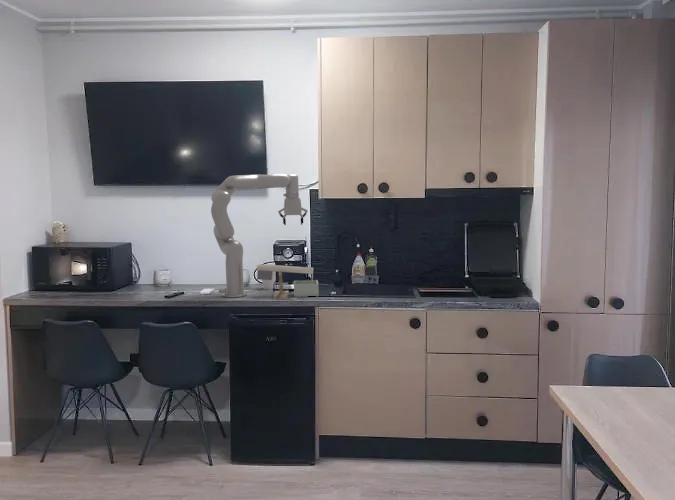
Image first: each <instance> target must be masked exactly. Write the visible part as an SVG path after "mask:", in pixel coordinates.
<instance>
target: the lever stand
mask: <svg viewBox="0 0 675 500" xmlns="http://www.w3.org/2000/svg"><path fill="white" fill-rule="evenodd" d="M283 285H284V284H283V272H282V271H279V272H278V286H279V288H278V289H279V290H274V292H273V299H283V298H284V299H286V298H287V299H288V298H289V290H284V289H283V288H284V287H283Z"/></svg>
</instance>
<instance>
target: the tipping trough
mask: <svg viewBox="0 0 675 500" xmlns="http://www.w3.org/2000/svg"><path fill="white" fill-rule="evenodd" d="M256 271H257V274H256V275H257V277H256V280H261V281H262V280H272V271H276V273H277V272H278V273H279V271H282V273H293V274H296V273H297V274H309V275H311V280H312V281H313V280H314V267H309V266H308V267H307V266H291V265H276V264H262V263H257V265H256Z"/></svg>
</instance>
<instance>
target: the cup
mask: <svg viewBox="0 0 675 500" xmlns="http://www.w3.org/2000/svg"><path fill="white" fill-rule="evenodd" d="M319 286H320V285H319V281H318V279H313V281H312V279H307V280H293V297H294V298H309V297H308V296H316V297H319V296H320V295H319V294H320V291H319V289H320V288H319Z"/></svg>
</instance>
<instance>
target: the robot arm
mask: <svg viewBox="0 0 675 500" xmlns="http://www.w3.org/2000/svg"><path fill="white" fill-rule="evenodd" d="M274 188H276V189H277V188H278V189H280V188H285V193H283V197H285V198H284V202H283V207H282V208H281V209H279V210H278V211H277V213H278V214H279V216H280V217H281V218H282V224H283V225H284V226H286V222H287V221H286V217H287V216H300V225H302V226H303V224H304V218H305V216H307V213H308V209H306V208H304V207H302V200H301V198H300V197H299V195H300V192H299V189H300V188H299V175H298V174H295V173H294V174H285V173H278V174H277V173H276V174H260V173H259V174H258V173H257V174H243V175H242V174H240V175H230V176H228V177H227V178H225V180H223V181H222V183H221V184H219V186H218V187H217V188H216V189H215V190H214V191H213V192H212V194H211V202H212V203H211V207H210V213H211V214H210V215H211V217H212V220H213V223H214V227H213V234H214V237H215V240H216V242H217V244H218V247H219V249H220V251H221V252H222V254H224V256H225V278H226V288H223V289H222V288H220V289H218V293H221V294H222V293H224V294H223V297H225V298H242V297H245V296H247V295H248V294H247V292H245V287H244V269H243V268H244V267H243V266H244V263H243V262H244V261H243V260H244V259H243V258H244V257H243V256H244V248H243V245H242V243H241V242H240V241H238V240H235V239H234V235H235V229H234V226H233V224H232V222H231V219H230V217H229V214H228V211H227V209H228V205H229V204H230V202H231V199H232V196H231V195H233V193H234V192H236V191H239V192H240V191H253V190H254V191H255V190H263V189H264V190H265V189H274ZM282 212H283V214H284V215H283V214H282ZM302 212H303V214H302Z"/></svg>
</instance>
